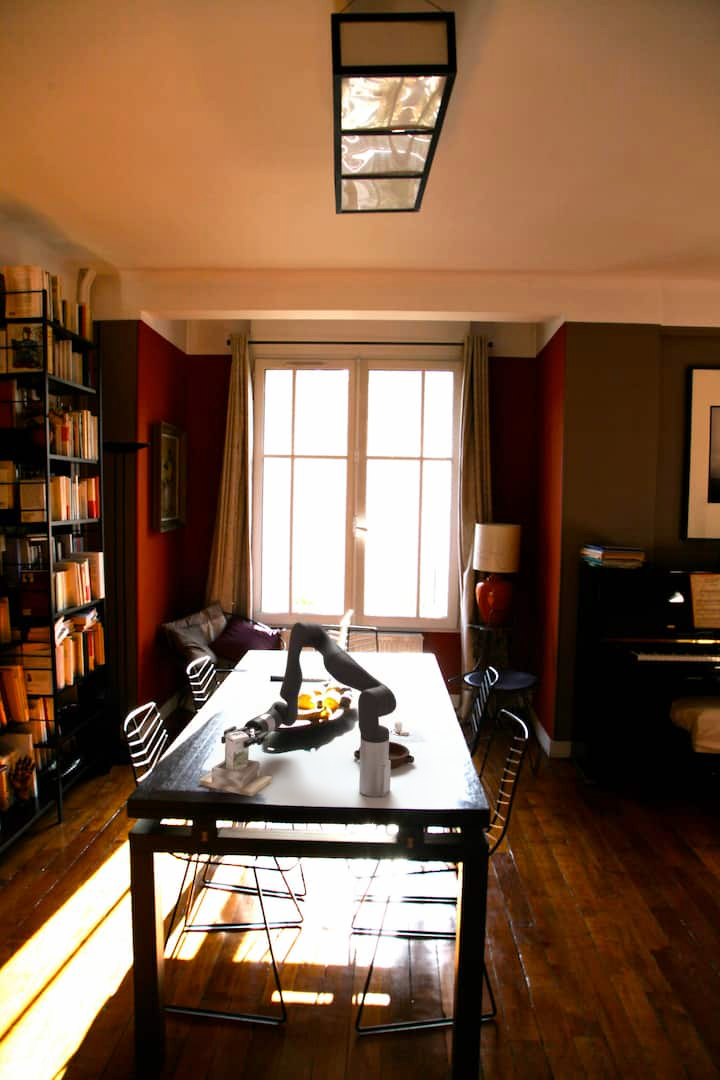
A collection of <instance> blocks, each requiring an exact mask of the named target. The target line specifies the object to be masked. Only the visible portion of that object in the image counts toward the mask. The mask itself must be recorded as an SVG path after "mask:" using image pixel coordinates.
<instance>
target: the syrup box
mask: <svg viewBox="0 0 720 1080" xmlns="http://www.w3.org/2000/svg"><path fill="white" fill-rule="evenodd" d="M248 738H249V736H248V735H247V734H245V733H244V732H242V731H239V732H235V733H230V734H226V740H225V743H224V745H225V746H224V750H225V751H224V760H225V769H227V770H231V771H236V772H241V771H242V770H244V769H245V768H247V767H248V760H249V754H250V753H249V751H250V750H249V749H250V746H249V747H247V748H244V741H245V740H247V739H248Z"/></svg>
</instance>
